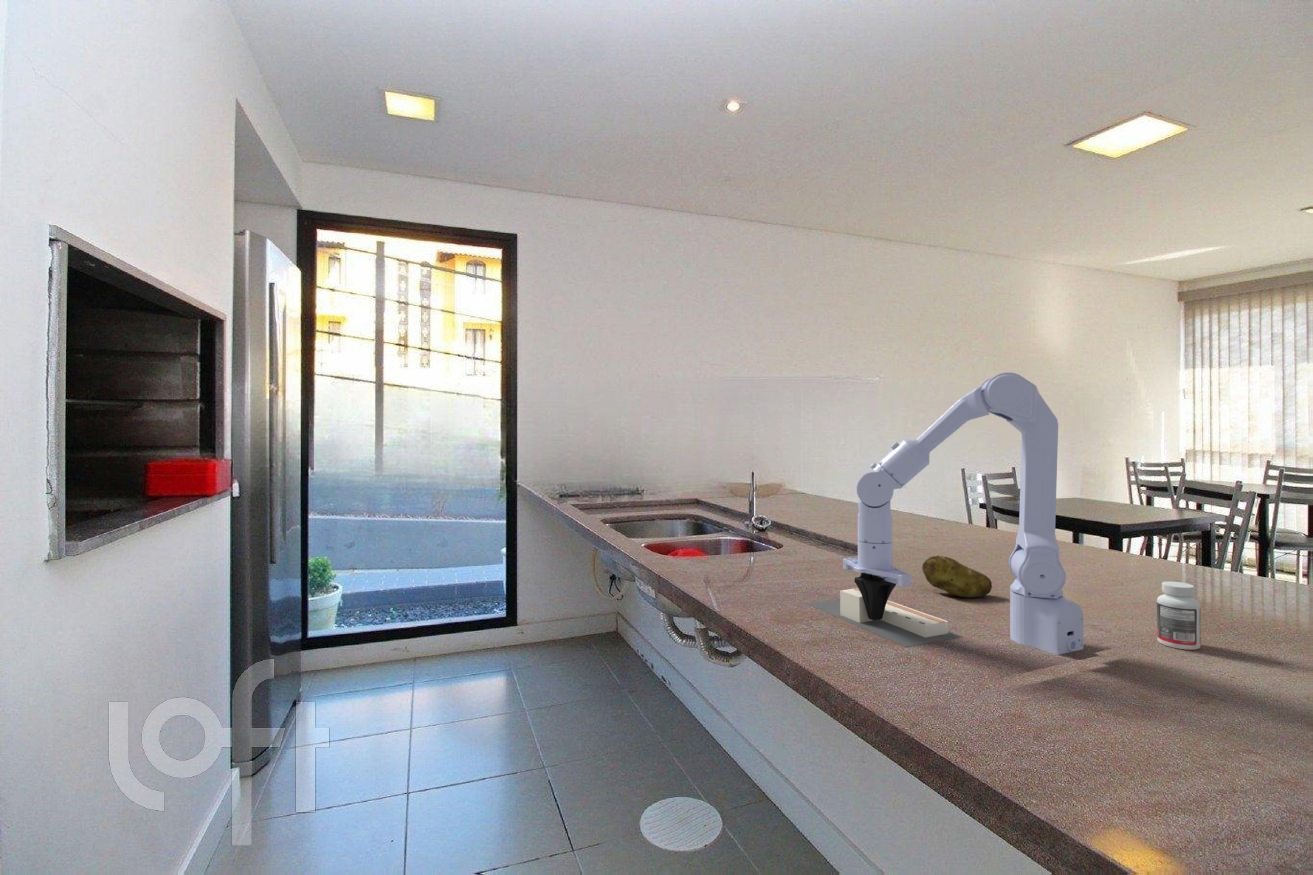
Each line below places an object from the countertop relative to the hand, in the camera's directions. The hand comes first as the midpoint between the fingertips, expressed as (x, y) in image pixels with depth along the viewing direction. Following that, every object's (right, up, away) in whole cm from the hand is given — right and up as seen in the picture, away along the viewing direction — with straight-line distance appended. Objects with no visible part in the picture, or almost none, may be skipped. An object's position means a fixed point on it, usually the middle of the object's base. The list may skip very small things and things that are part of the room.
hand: (875, 618), depth 106 cm
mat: (+1, -2, +3) cm, 4 cm away
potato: (+25, -2, +22) cm, 34 cm away
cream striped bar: (+5, -1, 0) cm, 5 cm away
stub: (-2, -1, +4) cm, 4 cm away
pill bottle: (+46, -2, -8) cm, 47 cm away
